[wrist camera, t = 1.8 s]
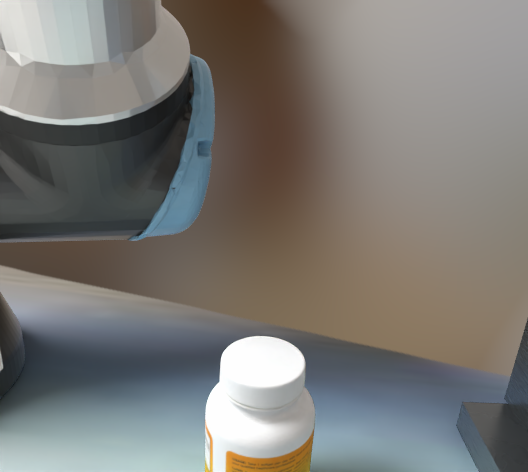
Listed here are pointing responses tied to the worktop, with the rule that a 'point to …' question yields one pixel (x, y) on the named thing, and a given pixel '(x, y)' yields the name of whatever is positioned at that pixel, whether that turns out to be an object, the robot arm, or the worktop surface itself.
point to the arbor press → (500, 423)
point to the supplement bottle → (260, 410)
